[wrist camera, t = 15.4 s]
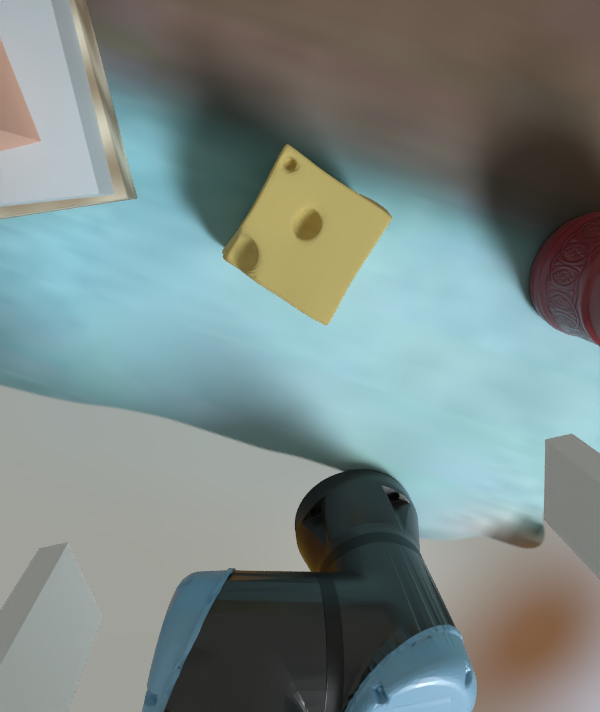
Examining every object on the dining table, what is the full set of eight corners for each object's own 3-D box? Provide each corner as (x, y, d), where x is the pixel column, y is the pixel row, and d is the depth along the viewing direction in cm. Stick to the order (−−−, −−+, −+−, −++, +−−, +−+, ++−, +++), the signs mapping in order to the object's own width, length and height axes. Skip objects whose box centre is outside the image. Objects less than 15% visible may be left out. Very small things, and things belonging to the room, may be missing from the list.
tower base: (139, 198, 40) (127, 198, 37) (-36, 224, 40) (-66, 227, 36) (84, -12, 35) (64, -37, 31) (-120, 15, 34) (-166, -8, 30)
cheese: (223, 250, 42) (214, 264, 33) (280, 147, 39) (287, 131, 30) (312, 303, 45) (327, 331, 35) (371, 210, 42) (404, 214, 33)
